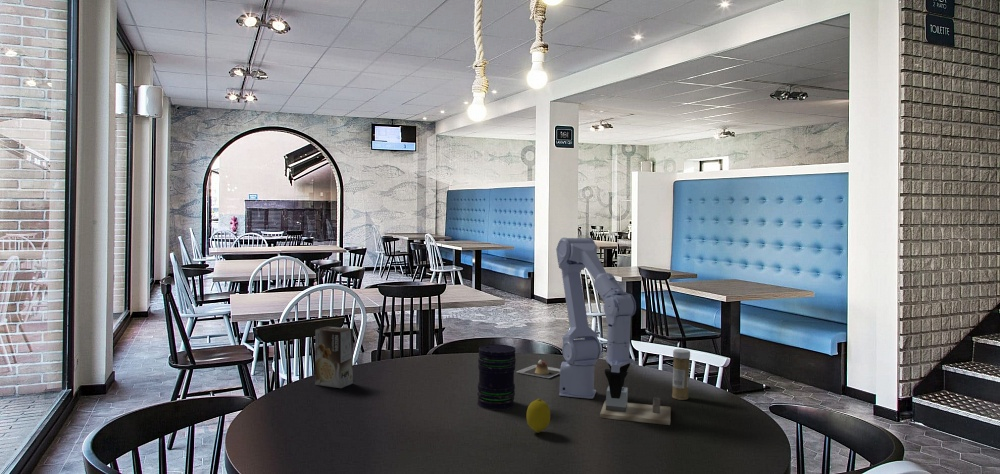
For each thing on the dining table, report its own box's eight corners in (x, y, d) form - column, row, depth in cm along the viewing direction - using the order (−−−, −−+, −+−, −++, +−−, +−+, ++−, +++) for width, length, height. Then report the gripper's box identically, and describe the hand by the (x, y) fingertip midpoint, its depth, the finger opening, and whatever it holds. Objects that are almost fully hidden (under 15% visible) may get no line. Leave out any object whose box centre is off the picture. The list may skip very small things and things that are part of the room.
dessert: (567, 373, 209) (567, 358, 209) (549, 381, 199) (549, 365, 199) (534, 367, 216) (535, 353, 215) (515, 375, 205) (516, 360, 205)
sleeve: (605, 410, 166) (606, 390, 166) (607, 404, 171) (608, 385, 171) (625, 412, 165) (626, 392, 165) (627, 406, 170) (627, 387, 170)
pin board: (599, 417, 163) (600, 399, 163) (604, 404, 175) (605, 387, 175) (670, 425, 159) (670, 406, 159) (670, 410, 171) (671, 393, 170)
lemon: (524, 428, 154) (525, 395, 153) (547, 428, 154) (548, 395, 154) (527, 437, 148) (528, 402, 148) (551, 437, 149) (552, 402, 148)
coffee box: (353, 383, 189) (354, 328, 188) (340, 389, 183) (341, 332, 182) (327, 379, 192) (328, 325, 192) (313, 384, 187) (314, 328, 186)
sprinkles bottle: (692, 399, 182) (693, 351, 181) (680, 401, 179) (682, 352, 179) (679, 394, 186) (680, 347, 185) (668, 397, 183) (669, 349, 183)
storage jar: (520, 402, 175) (522, 346, 174) (505, 412, 166) (506, 353, 165) (487, 397, 179) (488, 342, 178) (470, 406, 170) (471, 349, 169)
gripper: (632, 348, 159) (630, 403, 160) (636, 337, 173) (634, 388, 174) (603, 346, 161) (601, 400, 162) (609, 335, 175) (607, 385, 176)
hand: (616, 393), depth 168 cm, fingers open, 7 cm apart
